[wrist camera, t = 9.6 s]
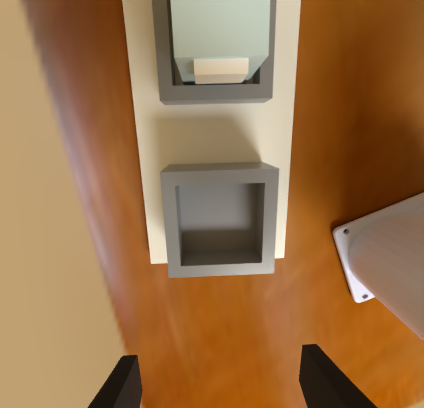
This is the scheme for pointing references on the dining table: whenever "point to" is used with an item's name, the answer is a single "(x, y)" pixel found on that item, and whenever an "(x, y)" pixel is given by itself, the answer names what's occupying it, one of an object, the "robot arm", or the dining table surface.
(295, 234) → the dining table surface
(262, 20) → the plug
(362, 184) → the dining table surface
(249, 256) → the board with square sockets
